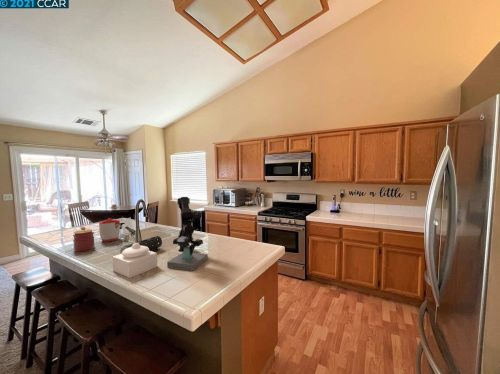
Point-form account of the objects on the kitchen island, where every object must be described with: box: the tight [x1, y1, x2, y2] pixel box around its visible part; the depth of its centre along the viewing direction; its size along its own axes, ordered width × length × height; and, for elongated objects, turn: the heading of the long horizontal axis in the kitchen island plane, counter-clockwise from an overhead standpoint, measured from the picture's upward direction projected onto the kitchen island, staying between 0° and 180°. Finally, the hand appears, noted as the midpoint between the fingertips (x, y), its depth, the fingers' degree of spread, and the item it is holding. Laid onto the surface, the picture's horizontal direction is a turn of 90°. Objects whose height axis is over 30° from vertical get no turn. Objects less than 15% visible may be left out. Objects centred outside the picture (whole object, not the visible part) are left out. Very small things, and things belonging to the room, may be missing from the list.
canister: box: [72, 226, 95, 253], centre depth 169 cm, size 13×13×18 cm
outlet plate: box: [166, 251, 209, 272], centre depth 140 cm, size 18×18×4 cm
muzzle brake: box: [119, 235, 163, 254], centre depth 157 cm, size 10×28×10 cm, turn 155°
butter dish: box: [112, 242, 158, 279], centre depth 132 cm, size 18×18×16 cm
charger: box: [184, 246, 194, 260], centre depth 140 cm, size 4×4×8 cm
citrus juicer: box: [98, 217, 122, 243], centre depth 192 cm, size 16×17×20 cm
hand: (188, 254), depth 140 cm, fingers closed on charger, 4 cm apart
